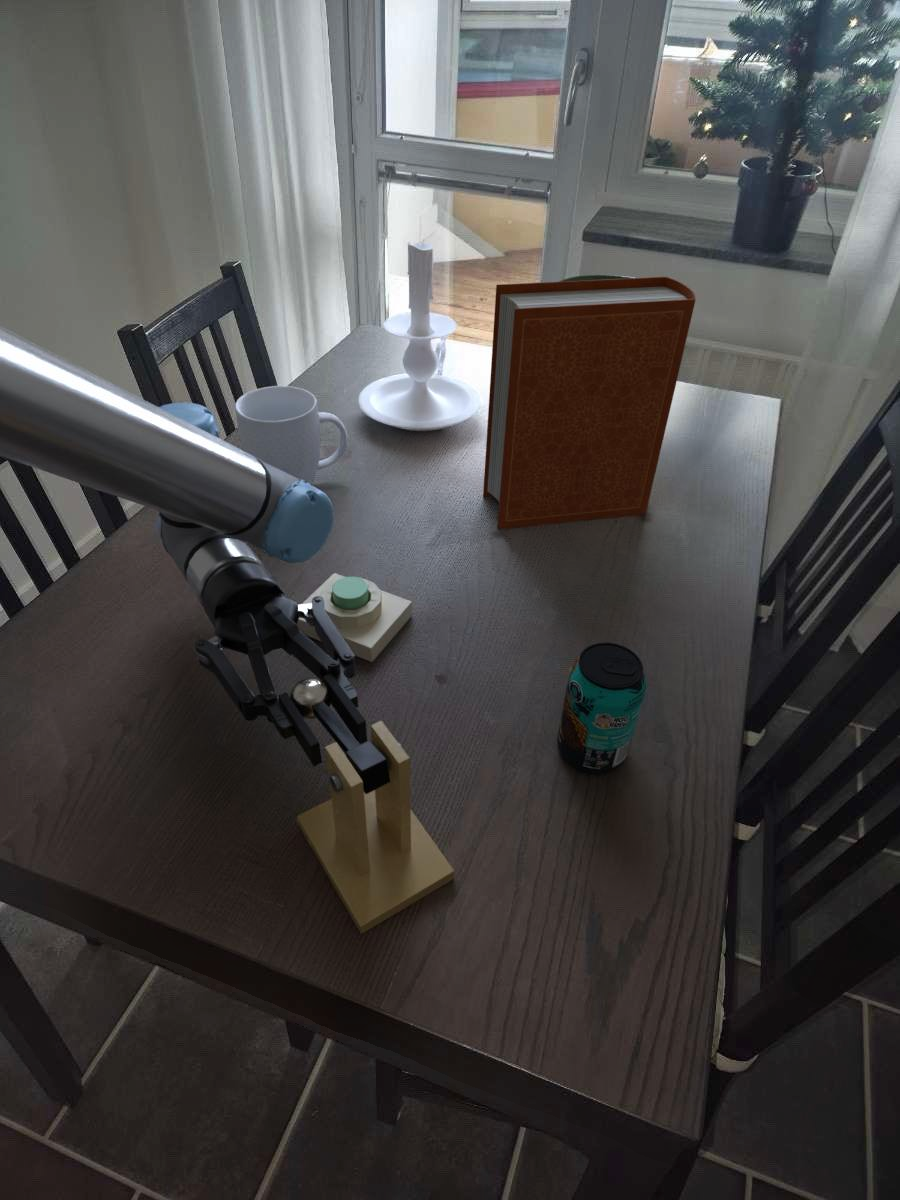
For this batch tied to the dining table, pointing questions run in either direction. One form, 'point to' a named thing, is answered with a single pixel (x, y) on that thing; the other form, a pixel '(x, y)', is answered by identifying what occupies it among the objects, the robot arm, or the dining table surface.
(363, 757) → the switch lever
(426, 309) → the candlestick
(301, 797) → the dining table surface
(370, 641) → the switch box
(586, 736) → the beverage can
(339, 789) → the switch bracket
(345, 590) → the light button
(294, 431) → the mug
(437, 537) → the dining table surface
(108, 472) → the robot arm
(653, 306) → the book
